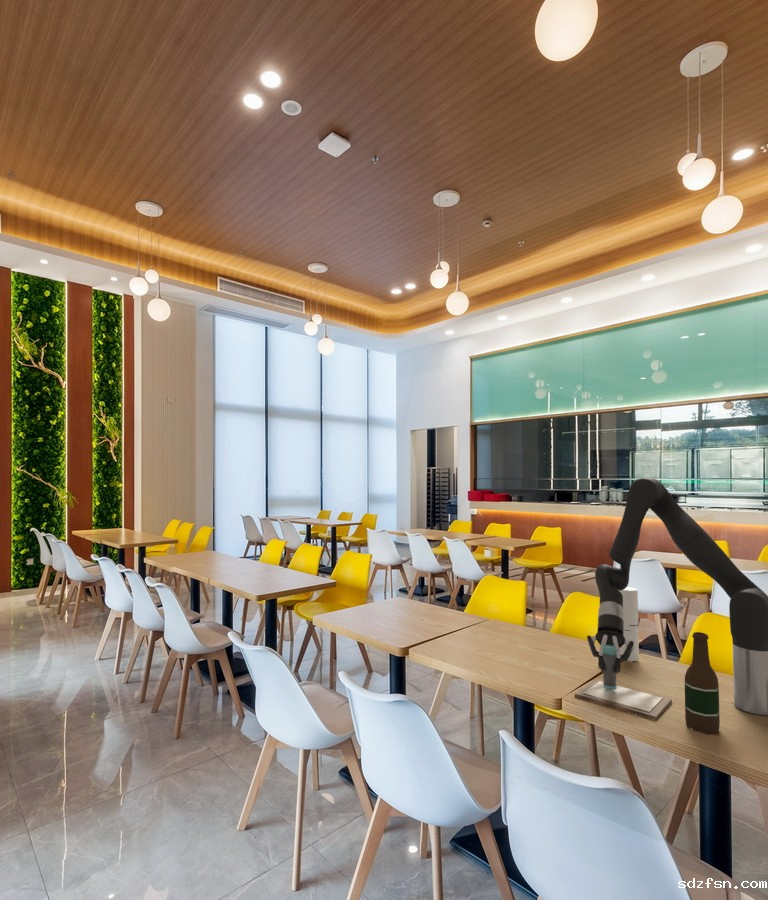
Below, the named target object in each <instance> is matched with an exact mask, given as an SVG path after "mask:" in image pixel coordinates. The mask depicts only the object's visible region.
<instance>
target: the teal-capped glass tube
mask: <svg viewBox="0 0 768 900" xmlns="http://www.w3.org/2000/svg"><path fill="white" fill-rule="evenodd" d="M602 648H603V664H604V671H602V677H603V679H602V681H603V687H604V688H606V689H609V690H616V689H617V686H616V685H617V673H615V660H616V647H615V646H613V645H603V646H602Z"/></svg>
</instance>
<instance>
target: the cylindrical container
mask: <svg viewBox="0 0 768 900" xmlns="http://www.w3.org/2000/svg"><path fill="white" fill-rule="evenodd" d="M618 591H620V590H618ZM620 592H621V593H622V595H623V613H624V637H625V640H627V641H629V642H630V641H633V642H634V649H633V651H632V652H631V654H630V656H629V658H628V660H627V661H626V662H628V661H637V662H639V661H640V657H639V655H640V653H639V652H640V651H639V649H640V648H639V647H640V646H639V644H640V643H639V594H638V593H639V590H638V589H637V588H636V587H631V586H630V587H629V586H627V587H626V588H625V589H624V590H621V591H620ZM625 650H626V646H625V644H624V645H623V646H622V647H621V648H620V649H619V651H620V655H623V654H624V652H625ZM638 660H639V661H638Z"/></svg>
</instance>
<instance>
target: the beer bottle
mask: <svg viewBox="0 0 768 900" xmlns="http://www.w3.org/2000/svg"><path fill="white" fill-rule="evenodd" d="M691 637H692V638H693V642H692V643H693V644H692V660H691V664H690V665H689V667H688V668H687V669H686V672H685V674H684V714H685V715H684V717H685V718H684V719H685V725H686V727H688V726H689V727H690V728H689V727H688V728H689V729H691V728H692V729H693V730H692V729H691V730H692V731H694V730H695V731H694V732H697V731H698V732H697V733H701V732H702V733H701V734H704V733H705V735H717V733H718V732H719V730H720V724H721V723H720V720H721V719H720V686H719V679H718V676H717V672H716V671H715V670H714V669H713V668H712V666H711V662H710V652H709V645H708V644H709V642H708V640H709V639H710V638H709V634H707V633H705V632H701V631H699V632H698V631H695V632H693V633H692V635H691Z"/></svg>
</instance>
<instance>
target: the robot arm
mask: <svg viewBox="0 0 768 900" xmlns="http://www.w3.org/2000/svg"><path fill="white" fill-rule="evenodd" d="M627 493H628V494H627V497H626V503H625V507H624V511H623V516H622V518H621V522H620V525H619V528H618V531H617V534H616V536H615V537H614V540H613V543H612V545H611V547H610V549H609V553H608V554H609V555H608V556H609V558H610V559H611V560H612V561H613V562H615V563H617V564H618V565H620V567H619V568H618V567H615V566H613V565H609V564H606V563H603V564H599V565H598V566H597V567H596V569H595V571H594V572H595V573H594V578H595V582H596V583H595V584H596V587H597V589H598V595H599V604H598V605H599V607H598V613H597V629H596V630H597V631H596V633H595V635H593V636H591V635H587V636H586V640H587V643H588V646H589V648H590V651H591V654H592V656H593V657H594V658H598V660H597V661H598V669H599V670H600V671H601V672H603V671H604V664H603V648H602V646H603V645H613V646H615V647H616V660H615V673H616V675H617V674H619V673H620V672H621V667H622V662H628V661H627V660H628V658H629V656H630V654H631V652H632V651H633V649H634V642H633V641H630V642H629V641H627V640H625V637H624V613H623V595H622V593H621V592H620V591H621V590H624V589H625V588H626V587H629V583H630V570H631V563H632V560H633V557H634V556H635V552H636V550H637V548H638V545H639V542H640V541H639V540H640V535H641V529H642V524H643V521H644V519H645V516H646V515H647V512H648V511H649V510H651V511H652V512H653V513H654V514H655V515H656V516H657V517H658V518H659V520H661V521H662V523H663V525H664V526H665V528H666V530H667V532H668V534H669V536H670V537H671V540H672V541H673V543H674V544H675V545H676V546H677V548H678V550H679V551H680V552H681V553H682V554H683V555H684V556H685V557H686V558H687V559H688V560H689V561H690V562H691V563H692V564H693V565H694V566H695V567H696V568H698V569H699V570H700V571H702V572H703V573H704V574H706V575H707V576H708V577H709V578H711V579H712V580H713V581H715V582H716V584H718V585H719V586H720V587H721V589H723V591H724V593H726V595H727V596H728V597H729V598H730V600H729V608H728V609H729V612H728V613H729V625H730V626H729V627H730V628H729V629H730V635H731V640H732V641H731V642H732V669H733V671H732V673H733V674H732V675H733V704H734V706H735V707H736V708H737V709H739V710H741V711H743V712H746V713H750V714H754V715H759V716H768V595H767V593H766V592H765V591H764V590H762V589H761V588H760V587H759V586H757V584H755V583H754V582H753V581H752V580H751V579H750V578H749V577H748V576H746V575H745V574H744V573H743V572H742V571H741V570H740V569H739V568H738V567H737V565H736V564H735V563H734V562H733V561H732V560H731V558H730V557H729V556H728V554H727V553H726V552H725V551H724V550H723V549H722V548H721V547H720V545H719V544H718V543H717V542H716V541H715V539H713V538H712V536H710V535H709V534H708V532H706V531H705V530H704V528H703V527H702V526H701V525H700V524H698V522H696V520H694V519H693V517H692V516H691V515H690V514H688V513H687V511H685V510H684V509H683V508H682V506H680V505H679V503H678V502H677V501H676V500H675V498H674V497H673V495H671V493H670V491H669V490H668V489H667V488H666V486H665V485H664V484H663V483H662V482H661V481H660V480H658V479H657V478H653V477H640V478H638V479H635V480H633V482H632V483H631V484H630V486H629V489H628V492H627ZM618 590H620V591H618ZM596 641H597V643H598V644H599V646H600V647H599V651H598V650H597V648H596V646H595V644H596ZM624 644H625V646H626V650H625V652H624V654H623V655H620V651H619V649H620V648H621V647H622V646H623V645H624Z"/></svg>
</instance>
